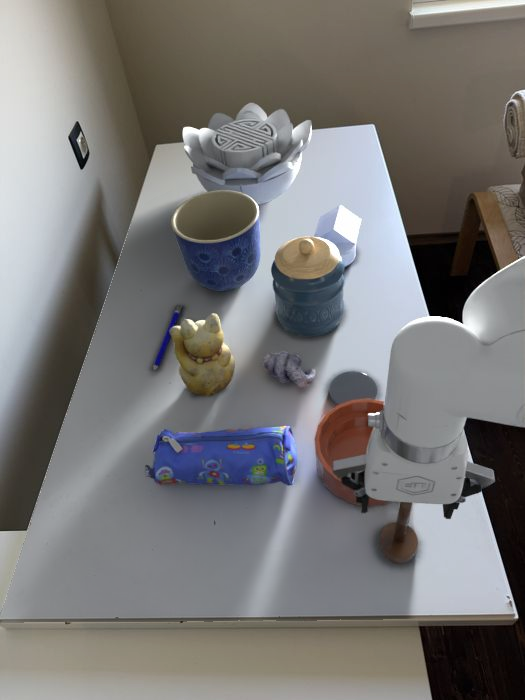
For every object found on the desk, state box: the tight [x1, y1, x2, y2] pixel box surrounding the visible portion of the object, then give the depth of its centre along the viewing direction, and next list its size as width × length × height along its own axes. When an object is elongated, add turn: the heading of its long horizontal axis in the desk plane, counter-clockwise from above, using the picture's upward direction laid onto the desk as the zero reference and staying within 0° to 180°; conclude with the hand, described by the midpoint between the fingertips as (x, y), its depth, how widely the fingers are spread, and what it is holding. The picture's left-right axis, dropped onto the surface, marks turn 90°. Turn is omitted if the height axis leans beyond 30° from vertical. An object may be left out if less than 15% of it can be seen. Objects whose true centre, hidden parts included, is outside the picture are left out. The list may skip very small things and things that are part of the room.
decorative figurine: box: [169, 312, 236, 397], centre depth 93 cm, size 10×8×15 cm
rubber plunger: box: [378, 502, 419, 565], centre depth 71 cm, size 5×5×16 cm
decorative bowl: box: [182, 102, 312, 205], centre depth 132 cm, size 30×30×15 cm
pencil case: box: [144, 425, 298, 487], centre depth 83 cm, size 22×9×10 cm, turn 87°
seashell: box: [261, 351, 316, 388], centre depth 96 cm, size 5×5×10 cm
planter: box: [170, 190, 261, 292], centre depth 112 cm, size 17×17×15 cm
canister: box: [270, 236, 345, 338], centre depth 101 cm, size 13×13×18 cm
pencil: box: [152, 304, 182, 372], centre depth 107 cm, size 17×1×1 cm, turn 170°
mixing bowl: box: [314, 399, 393, 507], centre depth 83 cm, size 15×15×6 cm
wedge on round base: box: [313, 204, 362, 268], centre depth 118 cm, size 9×7×13 cm
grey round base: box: [329, 370, 378, 406], centre depth 94 cm, size 8×8×1 cm
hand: (404, 504), depth 67 cm, fingers open, 9 cm apart
